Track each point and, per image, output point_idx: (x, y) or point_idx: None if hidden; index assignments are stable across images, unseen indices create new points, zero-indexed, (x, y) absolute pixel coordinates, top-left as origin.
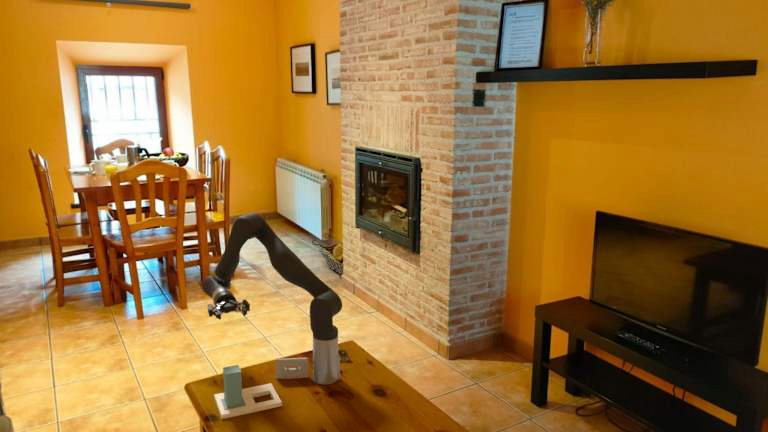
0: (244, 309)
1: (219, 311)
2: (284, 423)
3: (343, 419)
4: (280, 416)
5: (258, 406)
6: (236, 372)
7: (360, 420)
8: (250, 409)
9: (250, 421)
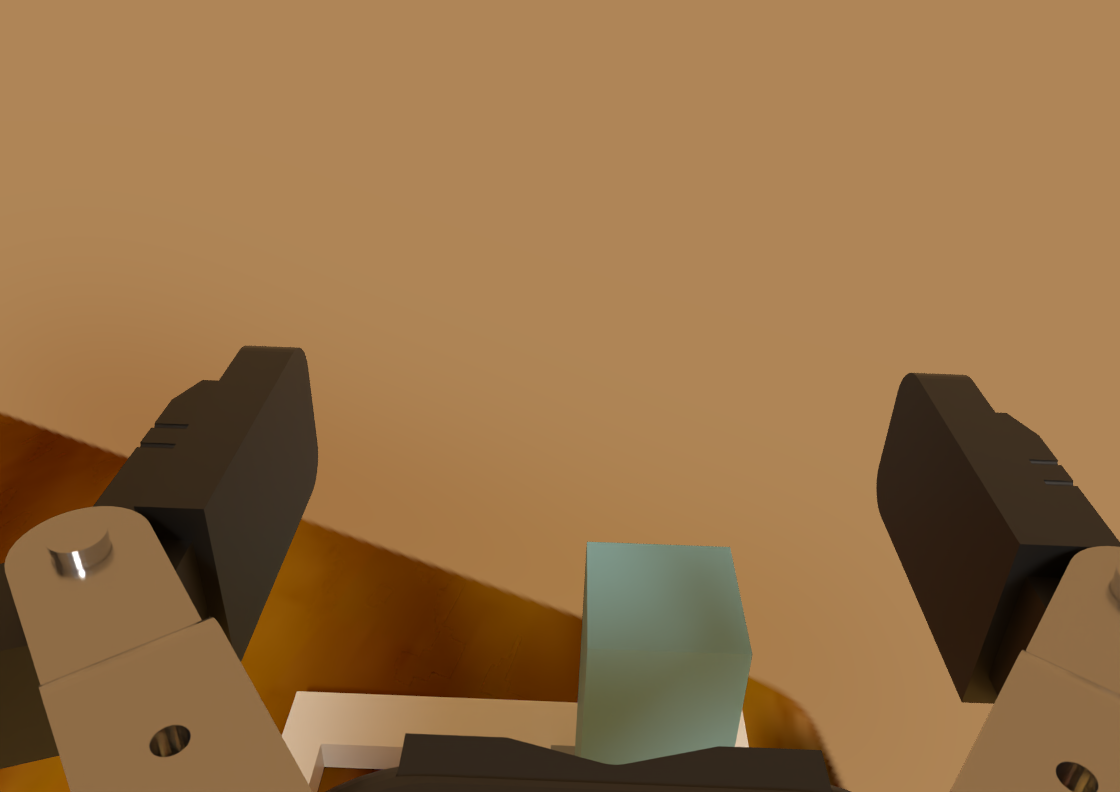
0: (249, 367)
1: (973, 459)
2: (387, 564)
3: (102, 493)
4: (372, 623)
5: (470, 704)
6: (631, 546)
7: (44, 463)
8: (532, 704)
9: (560, 644)
